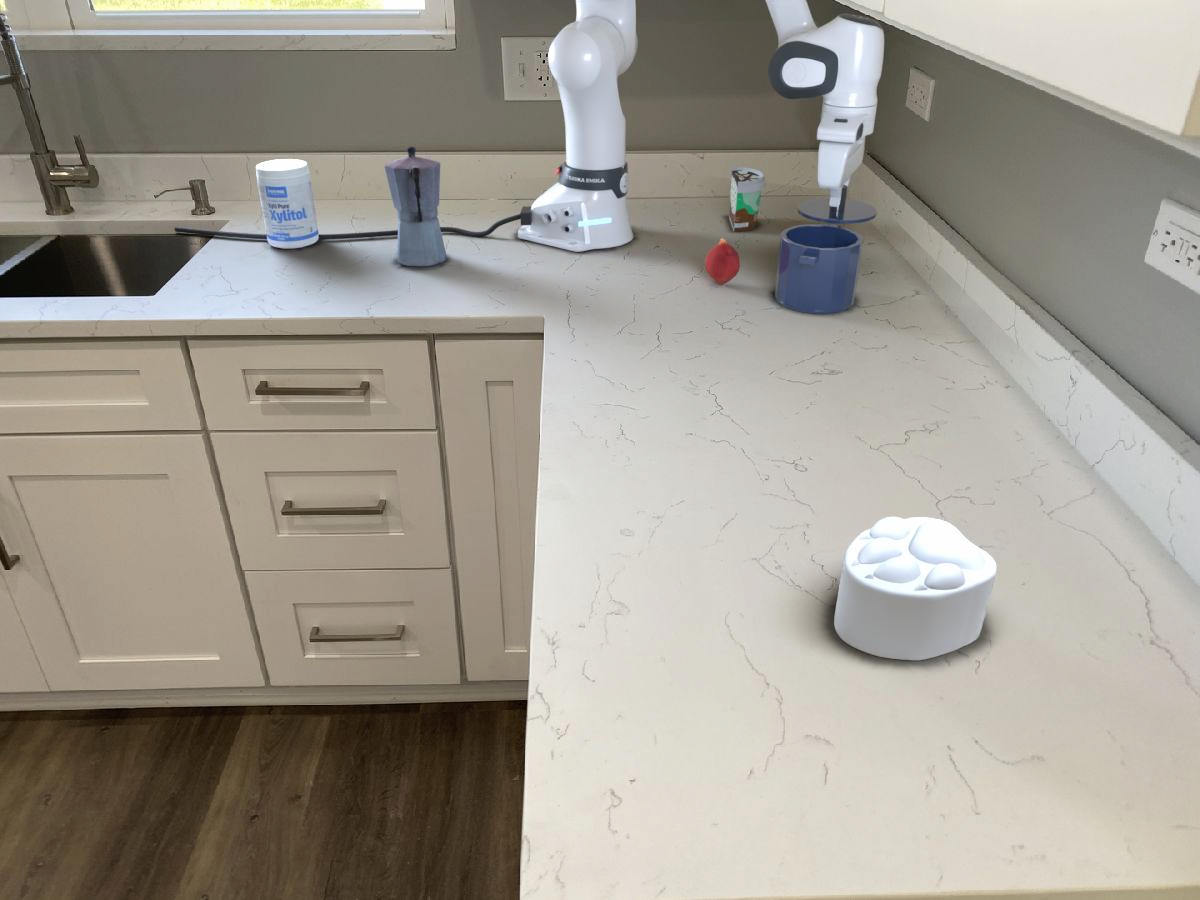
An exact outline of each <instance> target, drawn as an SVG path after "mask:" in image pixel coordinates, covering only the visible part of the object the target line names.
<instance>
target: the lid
mask: <svg viewBox="0 0 1200 900" xmlns="http://www.w3.org/2000/svg"><path fill="white" fill-rule="evenodd" d="M847 193H848V189H847V186H846V185H843V187H842V194H841V195H842V200H841V204H840V205H839V206H838V207H832V206H830V205H829V201H830V197H824V198H814V199H808V200H805V201H802V202H801V203H799V204H798V206H797V213H798V214H799V215H800V216H802V217H803V218H806V219H808V220H811V221H815V222H820V223H824V224H831V225H853V224H854V225H855V224H861V223H865V222H869V221H872V220H873V219H876V217H877V214H878V211H877V208H876V207H875V206H873V205H871V204H869V203H867V202H863V201H859V200H855V199H848V198H847Z"/></svg>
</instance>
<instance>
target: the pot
mask: <svg viewBox="0 0 1200 900" xmlns="http://www.w3.org/2000/svg"><path fill="white" fill-rule="evenodd" d="M779 236H780V237H779V238H780V239H779V245H778V256H777V266H776V275H775V276H776V278H775V287H774V298H775V301H776V302H777V303H778V304H779V305H781V306H783V307H785V308H787V309H790V310H792V311H797V312H802V313H807V314H817V315H823V314H825V315H826V314H827V315H828V314H835V313H840V312H844V311H847V310H849V309H851V307H852V306H853V305H854V303H855V300H856V293H857V287H858V280H859V273H860V265H861V260H862V259H861V258H862V251H863V245H864V238H863V236H862V235H861V233H858V232H856V231H855V230H853V229H850V228H846V227H842V225H839V224H831V223H825V224H824V223H823V224H821V223H820V224H819V223H818V224H817V223H816V224H815V223H812V224H810V223H809V224H800V225H793V226H790V227H788V228H785V229H783V230H782V232H781V233H780V235H779Z"/></svg>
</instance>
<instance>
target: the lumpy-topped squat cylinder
mask: <svg viewBox="0 0 1200 900" xmlns="http://www.w3.org/2000/svg"><path fill="white" fill-rule="evenodd" d="M841 567H842V568H841V575H840V579H839V586H838V590H837V591H838V592H837V598H836V604H835V611H834V618H833V627H834V629H835V632H836V634H837V635H838V637H839V638H840V639H841V640H842V641H843V642H845V643H846V644H847V645H849V646H850V647H852V648H854V649H856V650H858V651H861V652H864V653H866V654H869V655H872V656H876V657H879V658H885V659H892V660H902V661H923V660H928V659H933V658H936V657H937V658H938V657H940V656H943V655H946V654H949V653H952V652H955V651H957V650H959V649H962V648H964V647H965V646H966V647H967V646H968V645H970V644H972V643H974V642H975V641H976V640H977V639H978V638H979V637H980V635H981V632H982V628H983V626H984V625H983V624H984V621H985V617H986V614H987V611H988V607H989V603H990V600H991V595H992V591H993V588H994V583H995V579H996V576H997V572H998V566H997V562H996V560H995V559H994V557H993V556H992V555H991V554H989V553H988V552H987V551H985V550H984V549H982V548H981V547H979V546H977V545H976V544H974V542H972V541H970V540H969V539H968V538H966V536H964V535H963V533H962V532H961V531H960V530H959V529H958V528H957V527H956V526H954V525H953V524H952V523H950V522H948V521H946V520H943V519H939V518H934V517H929V516H928V517H927V516H915V517H908V518H901V517H899V516H886V517H884V518H883V517H882V518H881V519H879V520H878V521H876V522H875V523H874V525H873V526H872V527H870V528H868V529H866V530H863V531H862V532H860V534H859V535H857V536H856V537H855V538H854V539H853V540H852V541H851V543H850V544H849V545H848V546H847V548H846V550H845V553H844V557H843V562H842V566H841Z"/></svg>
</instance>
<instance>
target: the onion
mask: <svg viewBox="0 0 1200 900" xmlns="http://www.w3.org/2000/svg"><path fill="white" fill-rule="evenodd" d="M706 254H707V255H706V257H705V261H704V267H705V269H704V270H705V271H706V273H707V274H708V276H709V277H710V278H711V279H712V280H713V281H714V282H715V283H716V284H717V285H720V286H722V285H725V284H726V283H729V282H730V281H731V280H733V279H734V278H735V277H736V276H737V275H738V273H739V271H740V267H741V264H740V263H741V261H740V256H739V253H738V252H737V250H736V249H735V248H734V247H733V246H732V245H731V244H729V243H728V242H727V241H726V239H725V238H723V237H722V238H720V239H719V243H718V244H716V245H715V246H713V247H712V248H711V249H710V250H709V251H708V252H707V253H706Z"/></svg>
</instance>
